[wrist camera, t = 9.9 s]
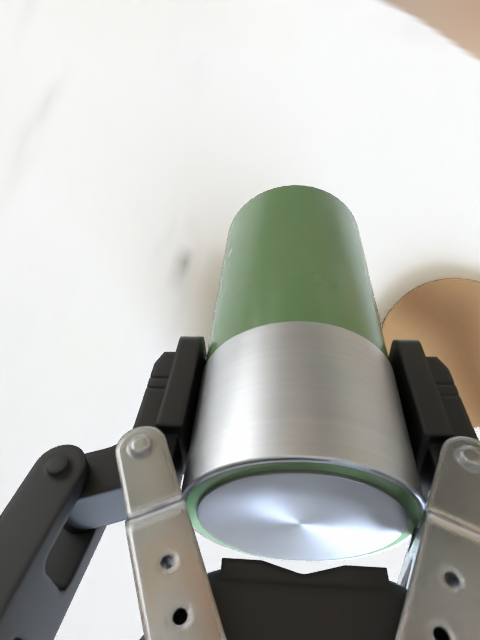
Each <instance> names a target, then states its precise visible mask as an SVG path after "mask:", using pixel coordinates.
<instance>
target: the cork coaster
mask: <svg viewBox="0 0 480 640" xmlns="http://www.w3.org/2000/svg"><path fill="white" fill-rule="evenodd" d="M382 332H383V336H384V340H385V344H386V349H387V353H388V357H389V353H390V348H391V344H392V341H393V340H419V341H420V343H421V345H422V348H423V350H424V353H425V356H427V357H438V358H439V359H440V360H441V361H442V362H443V364H444V365H445V366H446V367H447V368H448V369H449V371H450V373H451V375H452V378H453V380H454V385H456V387H457V390H458V392H459V397H461V399H462V402H463V404H464V407H465V409H466V412H467V414H468V416H469V419H470V421H471V424H472V426H473V428H477V427H480V282H477V281H473V280H468V279H460V278H446V279H440V280H435V281H431V282H428V283H425V284H423V285H421V286H418V287H417V288H415V289H413V290H412V291H410V292H408V293H407V294H406V295H405V296H403V297H402V298H401V299H400V300H399V301H398V302H397V303H396V304H395V305H394V306H393V308H392V309H391V310H390V312H389V313H388V315H387V317H386V319H385V321H384V323H383V326H382Z"/></svg>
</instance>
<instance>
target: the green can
mask: <svg viewBox="0 0 480 640" xmlns="http://www.w3.org/2000/svg"><path fill="white" fill-rule="evenodd" d="M182 494H183V498H184V500H185V503H186V506H187V509H188V513H189V516H190V519H191V523H192V526H193V529H194V530H195V531H196V532H198V533H199V534H201V535H202V536H204V537H205V538H207V539H209V540H211V541H213V542H215V543H217V544H219V545H222V546H224V547H227V548H230V549H233V550H236V551H239V552H243V553H246V554H250V555H255V556H259V557H265V558H271V559H279V560H288V561H306V562H320V561H337V560H347V559H353V558H360V557H364V556H369V555H373V554H376V553H380V552H383V551H386V550H389V549H391V548H394V547H396V546H398V545H400V544H402V543H404V542H406V541H407V540H409V539H410V537H411V534H412V532H413V529H414V527H417V528H419V526H420V522H421V519H422V515H423V511H424V508H425V500H424V496H423V491H422V487H421V483H420V479H419V475H418V471H417V466H416V462H415V458H414V454H413V450H412V446H411V441H410V437H409V433H408V429H407V425H406V421H405V416H404V412H403V408H402V404H401V400H400V396H399V391H398V387H397V383H396V379H395V375H394V371H393V368H392V366H391V364H390V361H389V357H388V353H387V349H386V344H385V340H384V336H383V332H382V327H381V323H380V319H379V315H378V310H377V306H376V302H375V298H374V293H373V289H372V285H371V281H370V277H369V272H368V268H367V264H366V260H365V255H364V251H363V247H362V243H361V238H360V234H359V230H358V226H357V223H356V221H355V218H354V216H353V215H352V213H351V212H350V210H349V209H348V208H347V207H346V205H345V204H344V203H342V202H341V201H340V200H339V199H338V198H336V197H335V196H333V195H331V194H330V193H327V192H325V191H323V190H320V189H317V188H314V187H309V186H300V185H291V186H282V187H277V188H274V189H271V190H268V191H265V192H263V193H261V194H259V195H257V196H256V197H254V198H253V199H251V200H250V201H249V202H248V203H246V204H245V205H244V206H243V207H242V208H241V209H240V211H239V212H238V213H237V215H236V216H235V218H234V219H233V222H232V224H231V226H230V229H229V233H228V238H227V244H226V250H225V255H224V261H223V267H222V273H221V278H220V284H219V290H218V296H217V301H216V307H215V313H214V319H213V324H212V330H211V336H210V342H209V347H208V353H207V359H206V365H205V367H204V370H203V373H202V378H201V384H200V389H199V395H198V400H197V406H196V412H195V417H194V423H193V429H192V434H191V440H190V446H189V451H188V457H187V462H186V468H185V474H184V479H183V485H182Z"/></svg>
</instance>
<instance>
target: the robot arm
mask: <svg viewBox="0 0 480 640" xmlns="http://www.w3.org/2000/svg"><path fill="white" fill-rule="evenodd" d="M206 359H207V354H206V347H205V340H204V337H180V339H179V342H178V346H177V349H176V352H164V353H163V354H162V355H161V357H160V358H159V359H158V360H157V361H156V362H155V364H154V367H153V370H152V373H151V378H150V379H149V382H148V385H147V388H146V391H145V394H144V397H143V400H142V403H141V406H140V409H139V412H138V415H137V418H136V421H135V424H134V427H133V429H132V430H130V431H128V432H127V433H126V434H125V435H123V436H122V438H121V439H120V440H119V442H118V444H116V445H114V446H112V447H109V448H106V449H102V450H98V451H94V452H90V453H86V454H84V452H83V451H82V450H81V449H80V448H79V447H77V446H74V445H61V446H57V447H55V448H52V449H50V450H49V451H47V452H46V453H44V454H43V455H42V456H41V457H40V458H39V459H38V460H37V462H36V463H35V464H34V466H33V467H32V469H31V470H30V472H29V473H28V475H27V476H26V478H25V479H24V481H23V482H22V484H21V485H20V487H19V488H18V490H17V491H16V493H15V494H14V496H13V497H12V499H11V500H10V502H9V503H8V505H7V506H6V508H5V509H4V511H3V512H2V514H1V515H0V640H54V638H55V635H56V633H57V631H58V629H59V627H60V625H61V623H62V620H63V618H64V616H65V614H66V612H67V610H68V608H69V605H70V603H71V601H72V599H73V597H74V595H75V592H76V590H77V588H78V586H79V584H80V582H81V580H82V577H83V575H84V573H85V571H86V569H87V567H88V564H89V562H90V560H91V558H92V556H93V554H94V552H95V549H96V547H97V545H98V543H99V541H100V539H101V537H102V534H103V532H104V530H105V528H106V526H107V525H109V524H112V523H116V522H119V521H123V520H126V519H127V520H126V521H125V527H126V534H127V540H128V546H129V551H130V557H131V563H132V569H133V574H134V580H135V586H136V591H137V597H138V603H139V609H140V614H141V620H142V626H143V632H144V635H143V636H142V637H141V639H140V640H480V441H479V440H478V438H477V436H476V433H475V431H474V428H473V426H472V424H471V421H470V419H469V416H468V414H467V412H466V409H465V407H464V404H463V402H462V399H461V397H459V392H458V390H457V387H456V385H454V380H453V378H452V375H451V373H450V371H449V369H448V368H447V367H446V366H445V365H444V364H443V362H442V361H441V360H440V359H439V358H438V357H427V356H425V353H424V350H423V348H422V345H421V343H420V341H419V340H393V341H392V344H391V348H390V353H389V361H390V364H391V366H392V368H393V371H394V375H395V379H396V383H397V387H398V391H399V396H400V400H401V404H402V408H403V412H404V416H405V421H406V425H407V429H408V433H409V437H410V441H411V446H412V450H413V454H414V458H415V462H416V466H417V471H418V475H419V479H420V483H421V487H422V491H423V496H424V500H425V508H424V511H423V515H422V519H421V522H420V526H419V528H417V527H414V529H413V532H412V534H411V537H410V541H409V544H408V548H407V552H406V556H405V559H404V562H403V566H402V569H401V572H400V575H399V578H398V581H397V583H395V582H392V581H389V579H388V574H387V568H380V567H363V566H347V565H345V566H340V567H336V568H331V569H327V570H323V571H318V572H314V573H309V574H300V573H296V572H294V571H291V570H288V569H285V568H282V567H279V566H276V565H273V564H271V563H268V562H265V561H262V560H247V559H231V558H222V565H221V570H217V571H213V572H210V573H208V574H207V573H206V569H205V566H204V563H203V559H202V556H201V553H200V549H199V546H198V543H197V539H196V536H195V533H194V529H193V526H192V523H191V519H190V516H189V513H188V509H187V506H186V503H185V500H184V498H183V494H182V491H181V488H180V485H181V480H182V475H183V474H185V468H186V462H187V457H188V451H189V446H190V440H191V434H192V429H193V423H194V417H195V412H196V406H197V400H198V395H199V389H200V384H201V378H202V373H203V370H204V367H205V365H206Z"/></svg>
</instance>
